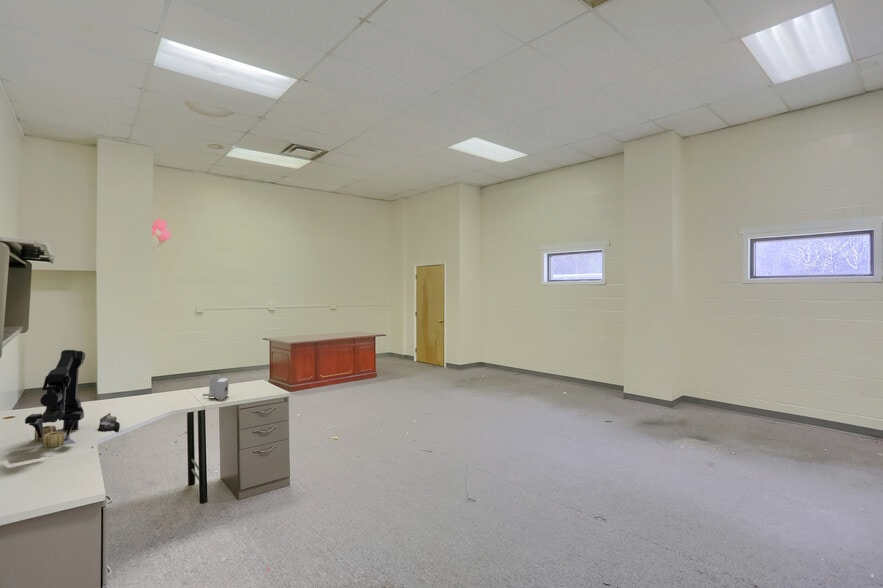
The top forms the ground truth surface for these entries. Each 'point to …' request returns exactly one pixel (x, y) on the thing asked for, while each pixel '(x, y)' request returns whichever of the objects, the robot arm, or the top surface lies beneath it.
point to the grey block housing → (218, 387)
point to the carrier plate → (62, 444)
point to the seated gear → (44, 432)
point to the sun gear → (66, 436)
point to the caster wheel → (109, 423)
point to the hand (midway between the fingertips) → (54, 437)
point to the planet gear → (53, 439)
